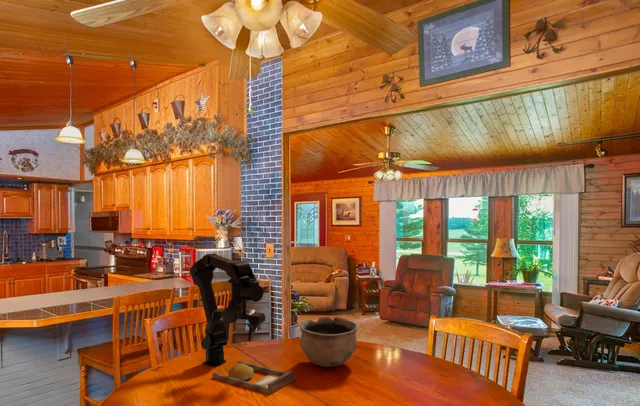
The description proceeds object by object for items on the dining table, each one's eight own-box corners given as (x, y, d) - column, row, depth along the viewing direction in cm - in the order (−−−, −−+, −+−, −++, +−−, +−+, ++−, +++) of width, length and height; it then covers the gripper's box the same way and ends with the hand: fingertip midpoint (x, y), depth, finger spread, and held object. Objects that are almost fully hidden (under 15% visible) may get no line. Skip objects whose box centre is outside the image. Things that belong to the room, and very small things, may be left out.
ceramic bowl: (345, 350, 174) (345, 314, 174) (367, 370, 154) (367, 329, 154) (293, 357, 167) (293, 319, 167) (309, 378, 147) (309, 335, 147)
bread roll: (237, 383, 141) (237, 371, 141) (225, 376, 148) (224, 364, 148) (258, 376, 146) (258, 364, 147) (246, 369, 153) (245, 358, 153)
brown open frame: (212, 378, 146) (212, 369, 146) (239, 365, 158) (239, 356, 158) (270, 395, 133) (270, 385, 133) (294, 379, 146) (294, 370, 146)
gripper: (203, 299, 146) (202, 343, 146) (251, 304, 140) (250, 351, 140) (220, 292, 156) (220, 334, 157) (266, 297, 150) (265, 340, 151)
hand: (238, 340), depth 151 cm, fingers open, 9 cm apart
